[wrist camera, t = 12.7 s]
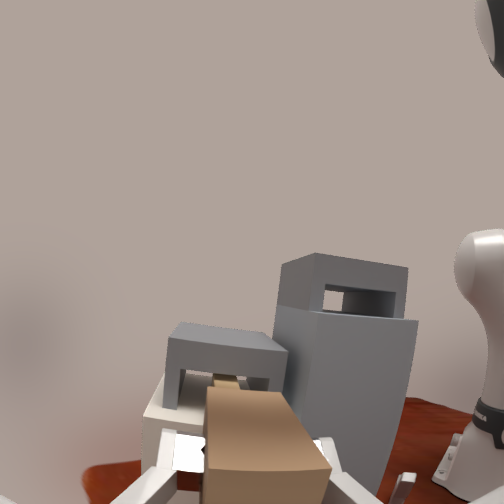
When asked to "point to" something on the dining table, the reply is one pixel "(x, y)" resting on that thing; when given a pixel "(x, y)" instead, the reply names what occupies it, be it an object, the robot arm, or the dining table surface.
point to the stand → (305, 364)
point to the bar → (257, 449)
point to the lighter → (402, 488)
